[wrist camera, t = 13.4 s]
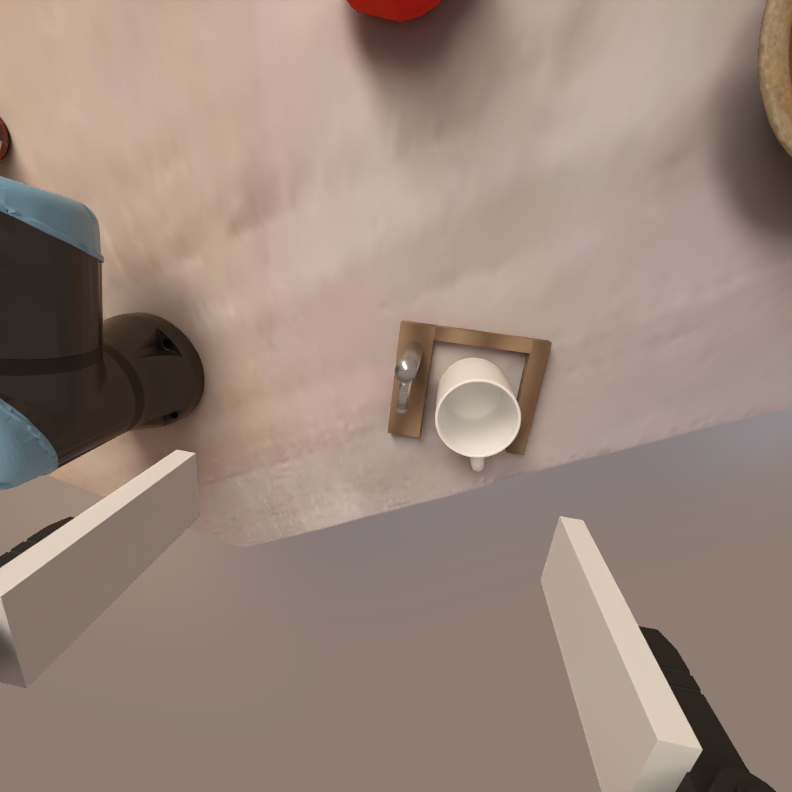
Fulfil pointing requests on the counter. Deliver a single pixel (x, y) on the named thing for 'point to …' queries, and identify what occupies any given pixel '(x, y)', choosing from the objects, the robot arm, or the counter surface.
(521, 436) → the brown wooden u-shaped piece
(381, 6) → the red lobed round piece
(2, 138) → the supplement bottle
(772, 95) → the bowl
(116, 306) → the counter surface
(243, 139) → the counter surface
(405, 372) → the hook post
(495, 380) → the mug
